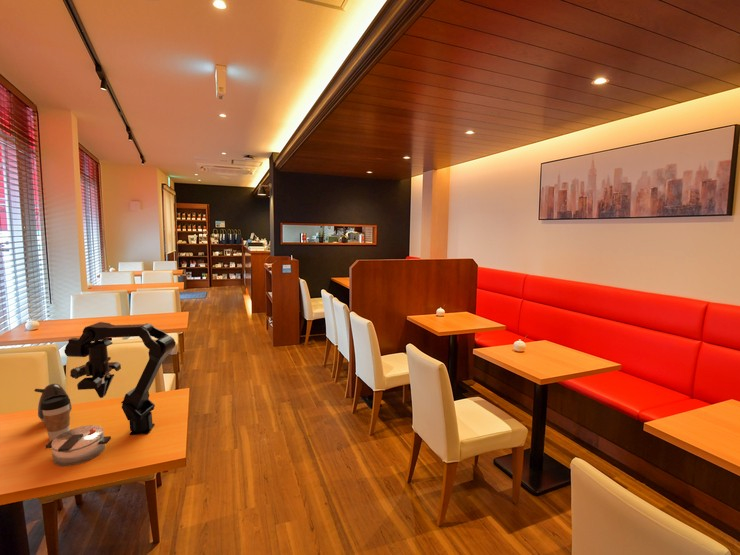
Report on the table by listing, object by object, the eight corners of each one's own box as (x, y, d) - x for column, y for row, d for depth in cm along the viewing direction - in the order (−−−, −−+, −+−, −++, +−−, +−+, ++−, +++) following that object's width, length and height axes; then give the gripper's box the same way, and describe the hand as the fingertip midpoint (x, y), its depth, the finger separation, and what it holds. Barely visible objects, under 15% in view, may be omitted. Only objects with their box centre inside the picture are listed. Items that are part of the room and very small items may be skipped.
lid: (111, 426, 137) (110, 421, 136) (88, 451, 122) (87, 446, 122) (68, 429, 134) (67, 424, 134) (39, 455, 120) (38, 450, 119)
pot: (119, 438, 138) (118, 426, 137) (99, 463, 124) (97, 449, 123) (62, 443, 135) (61, 430, 134) (35, 468, 121) (33, 454, 120)
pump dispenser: (42, 417, 151) (37, 381, 149) (74, 411, 156) (70, 376, 154) (35, 430, 142) (30, 392, 140) (70, 423, 148) (65, 386, 145)
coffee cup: (57, 444, 134) (52, 404, 132) (38, 441, 136) (33, 402, 133) (80, 431, 142) (75, 393, 140) (61, 428, 144) (56, 391, 142)
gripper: (88, 349, 147) (92, 387, 150) (57, 368, 129) (63, 410, 132) (119, 348, 149) (123, 385, 152) (93, 366, 131) (98, 408, 134)
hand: (102, 396), depth 142 cm, fingers closed
